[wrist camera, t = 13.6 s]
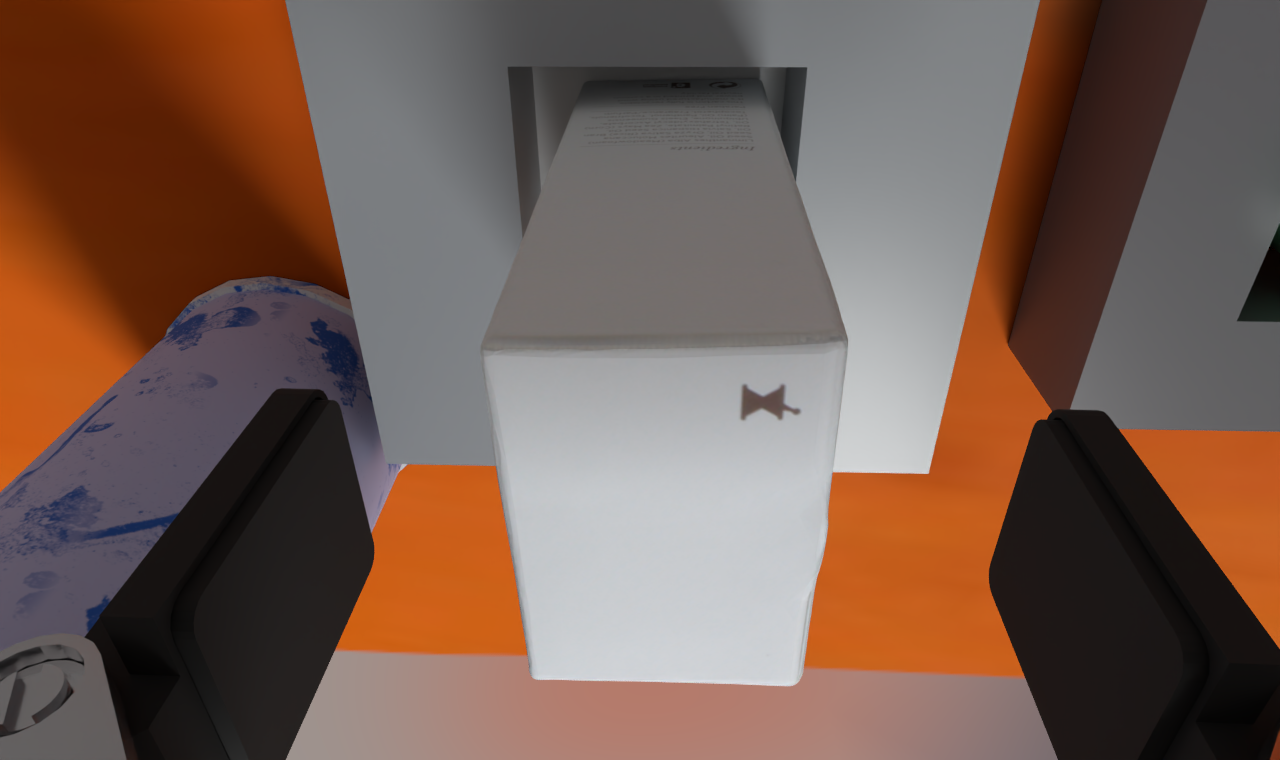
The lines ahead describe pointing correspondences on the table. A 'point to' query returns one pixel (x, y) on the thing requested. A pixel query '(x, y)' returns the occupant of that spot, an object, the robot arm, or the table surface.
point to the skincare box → (667, 394)
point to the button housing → (1164, 224)
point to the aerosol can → (173, 445)
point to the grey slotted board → (648, 51)
